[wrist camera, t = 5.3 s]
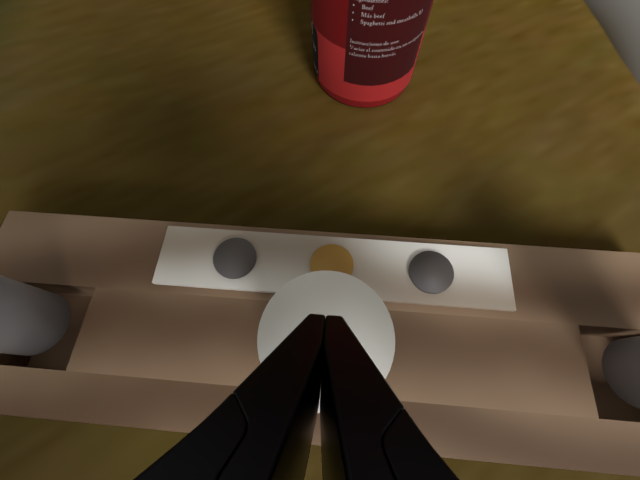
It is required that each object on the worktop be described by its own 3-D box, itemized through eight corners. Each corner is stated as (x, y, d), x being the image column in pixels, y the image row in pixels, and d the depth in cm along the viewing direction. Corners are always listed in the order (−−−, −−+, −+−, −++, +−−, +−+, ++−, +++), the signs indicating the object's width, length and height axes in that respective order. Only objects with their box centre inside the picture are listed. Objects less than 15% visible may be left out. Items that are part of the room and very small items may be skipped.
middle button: (371, 408, 17) (395, 420, 11) (273, 398, 17) (246, 406, 11) (373, 309, 19) (394, 275, 13) (285, 302, 19) (267, 265, 13)
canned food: (348, 29, 29) (360, -158, 19) (428, 67, 27) (489, -119, 17) (293, 80, 27) (274, -102, 17) (377, 127, 25) (412, -49, 15)
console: (702, 472, 16) (795, 493, 13) (-26, 402, 18) (-103, 406, 15) (640, 274, 20) (700, 253, 17) (49, 232, 22) (1, 206, 19)
